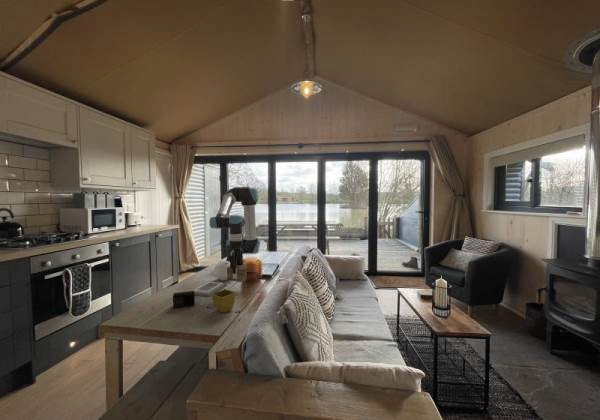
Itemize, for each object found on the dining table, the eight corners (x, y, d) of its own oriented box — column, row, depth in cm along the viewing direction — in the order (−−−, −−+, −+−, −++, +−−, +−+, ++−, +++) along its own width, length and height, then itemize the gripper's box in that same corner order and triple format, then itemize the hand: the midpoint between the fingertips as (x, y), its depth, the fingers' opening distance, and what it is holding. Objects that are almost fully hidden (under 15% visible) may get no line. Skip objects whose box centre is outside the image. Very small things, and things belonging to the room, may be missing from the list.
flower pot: (222, 315, 134) (221, 297, 134) (211, 311, 140) (211, 293, 139) (236, 309, 141) (236, 292, 141) (225, 305, 147) (225, 288, 146)
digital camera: (172, 309, 142) (172, 296, 141) (174, 305, 147) (173, 292, 147) (194, 306, 145) (193, 294, 145) (194, 303, 150) (194, 290, 150)
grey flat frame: (208, 283, 182) (208, 280, 181) (227, 285, 178) (227, 282, 178) (188, 294, 162) (188, 291, 162) (209, 296, 159) (209, 293, 159)
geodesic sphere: (242, 271, 190) (233, 254, 193) (227, 276, 178) (217, 258, 182) (230, 280, 196) (222, 264, 200) (215, 286, 185) (206, 268, 188)
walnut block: (231, 278, 174) (230, 265, 173) (246, 279, 171) (246, 266, 171) (227, 280, 170) (227, 267, 169) (243, 281, 167) (243, 268, 166)
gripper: (237, 237, 178) (238, 272, 180) (223, 242, 161) (224, 281, 163) (247, 237, 176) (248, 273, 178) (234, 243, 159) (235, 282, 161)
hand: (237, 277), depth 170 cm, fingers closed on walnut block, 4 cm apart
